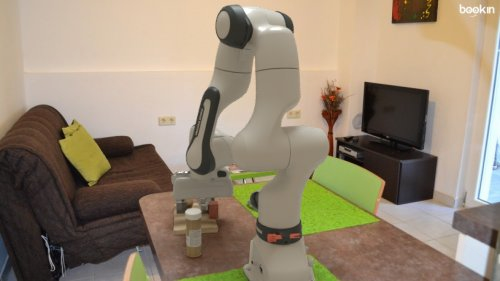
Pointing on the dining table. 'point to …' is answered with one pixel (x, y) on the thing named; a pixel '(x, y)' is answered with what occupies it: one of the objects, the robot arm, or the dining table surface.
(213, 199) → the lever
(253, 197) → the ceramic mug
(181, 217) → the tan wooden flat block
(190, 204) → the brown ball
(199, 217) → the sprinkles bottle
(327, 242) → the dining table surface
